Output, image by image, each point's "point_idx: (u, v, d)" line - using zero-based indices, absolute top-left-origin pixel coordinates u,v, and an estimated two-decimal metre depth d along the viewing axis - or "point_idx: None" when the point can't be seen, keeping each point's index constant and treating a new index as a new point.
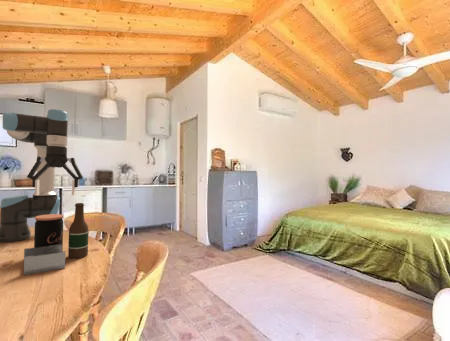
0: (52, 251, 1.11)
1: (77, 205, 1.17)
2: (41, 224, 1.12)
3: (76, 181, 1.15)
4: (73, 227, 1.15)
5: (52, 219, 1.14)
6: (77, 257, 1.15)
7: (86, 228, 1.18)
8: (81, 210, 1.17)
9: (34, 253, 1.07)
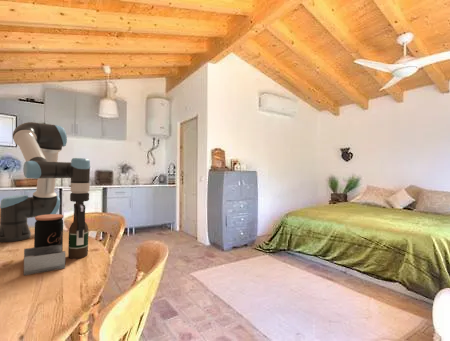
0: (52, 251, 1.11)
1: None
2: (41, 224, 1.12)
3: (79, 232, 1.14)
4: (73, 227, 1.15)
5: (52, 219, 1.14)
6: (77, 257, 1.15)
7: (86, 228, 1.18)
8: None
9: (34, 253, 1.07)
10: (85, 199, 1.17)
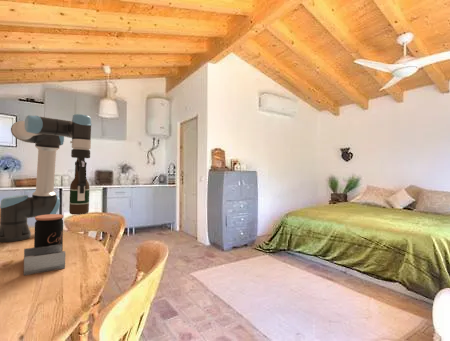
0: (52, 251, 1.11)
1: None
2: (41, 224, 1.12)
3: (80, 187, 1.14)
4: (74, 183, 1.15)
5: (52, 219, 1.14)
6: (78, 213, 1.15)
7: (87, 185, 1.18)
8: None
9: (34, 253, 1.07)
10: (86, 156, 1.17)
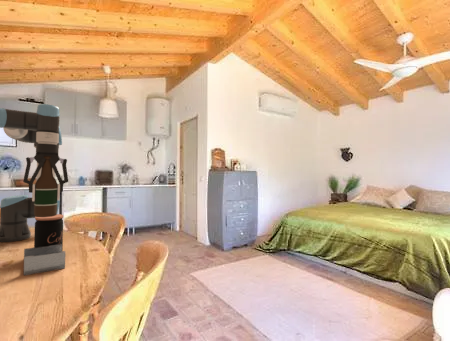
0: (52, 251, 1.11)
1: None
2: (41, 224, 1.12)
3: (62, 185, 1.08)
4: (53, 181, 1.04)
5: (52, 219, 1.14)
6: (56, 213, 1.07)
7: None
8: None
9: (34, 253, 1.07)
10: None
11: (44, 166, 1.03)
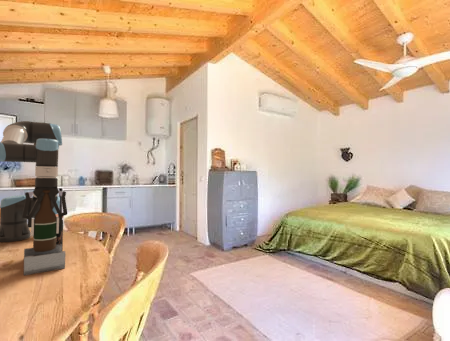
0: (52, 251, 1.11)
1: None
2: None
3: (61, 218, 1.08)
4: (52, 215, 1.04)
5: None
6: (55, 246, 1.07)
7: None
8: None
9: (34, 253, 1.07)
10: None
11: (43, 200, 1.03)
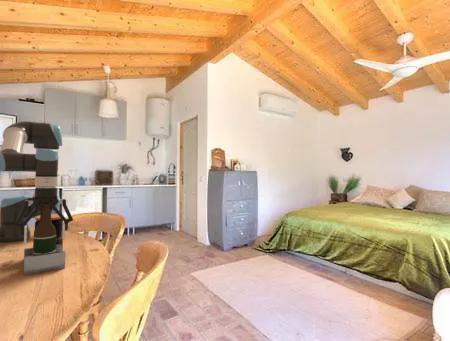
0: None
1: None
2: None
3: (66, 224, 1.09)
4: (52, 229, 1.04)
5: (52, 219, 1.14)
6: None
7: None
8: None
9: None
10: None
11: (43, 214, 1.03)
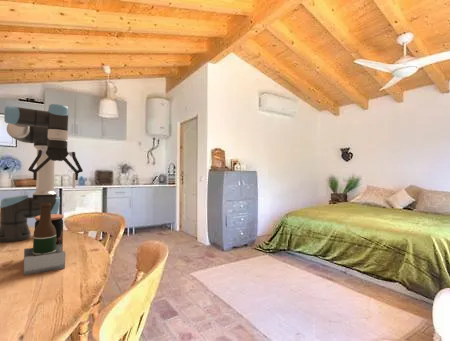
0: None
1: (49, 205, 1.05)
2: None
3: (77, 174, 1.20)
4: (51, 229, 1.05)
5: (52, 219, 1.14)
6: None
7: None
8: None
9: None
10: None
11: (43, 214, 1.04)
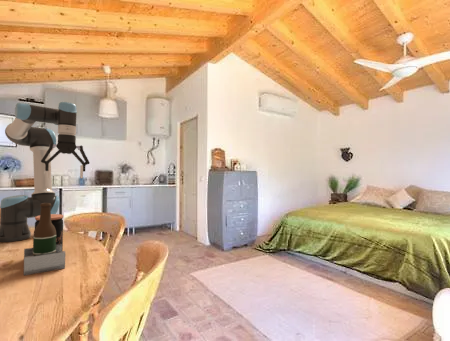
0: None
1: (49, 205, 1.05)
2: None
3: (84, 166, 1.32)
4: (51, 229, 1.05)
5: (52, 219, 1.14)
6: None
7: None
8: None
9: None
10: None
11: (43, 214, 1.04)
